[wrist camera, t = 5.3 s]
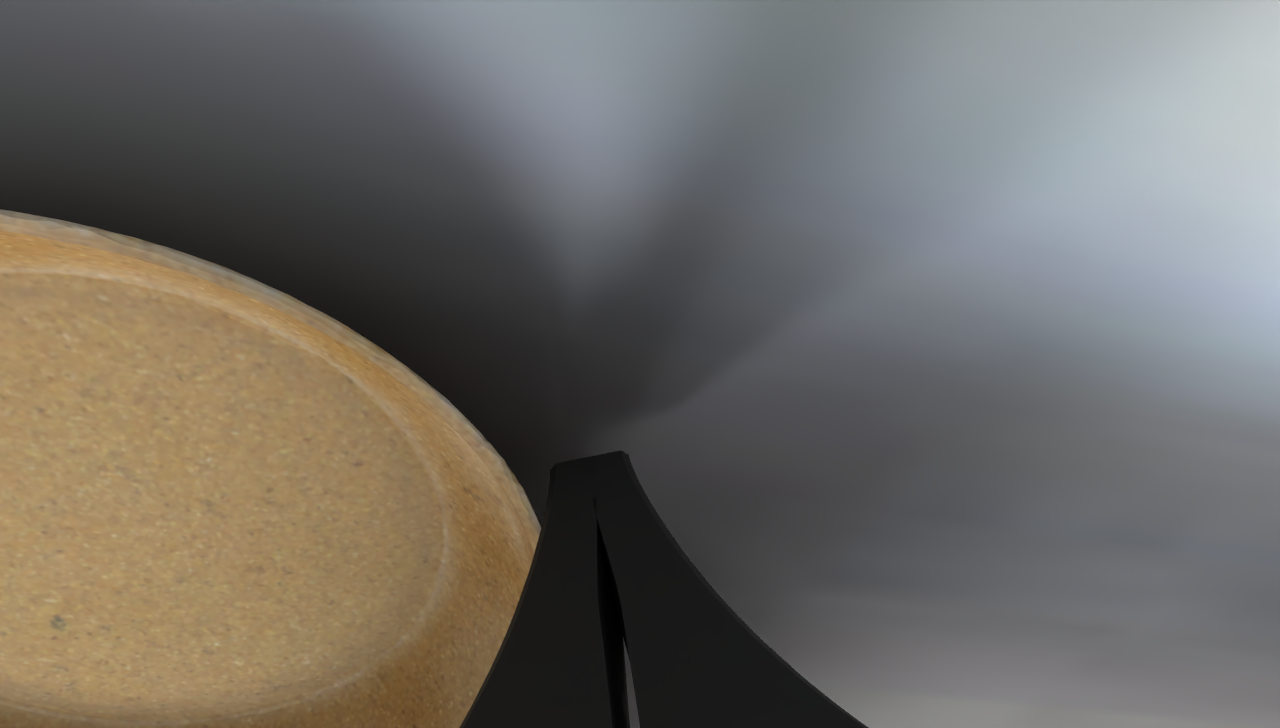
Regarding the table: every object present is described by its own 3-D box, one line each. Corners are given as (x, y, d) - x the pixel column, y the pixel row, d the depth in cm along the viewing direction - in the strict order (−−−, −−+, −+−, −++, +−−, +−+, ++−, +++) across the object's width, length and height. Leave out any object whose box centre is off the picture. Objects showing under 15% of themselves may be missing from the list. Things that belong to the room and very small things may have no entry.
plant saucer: (411, 783, 21) (402, 896, 19) (-366, 709, 15) (-503, 857, 13) (681, 325, 14) (716, 420, 12) (-539, -106, 8) (-880, -71, 6)
